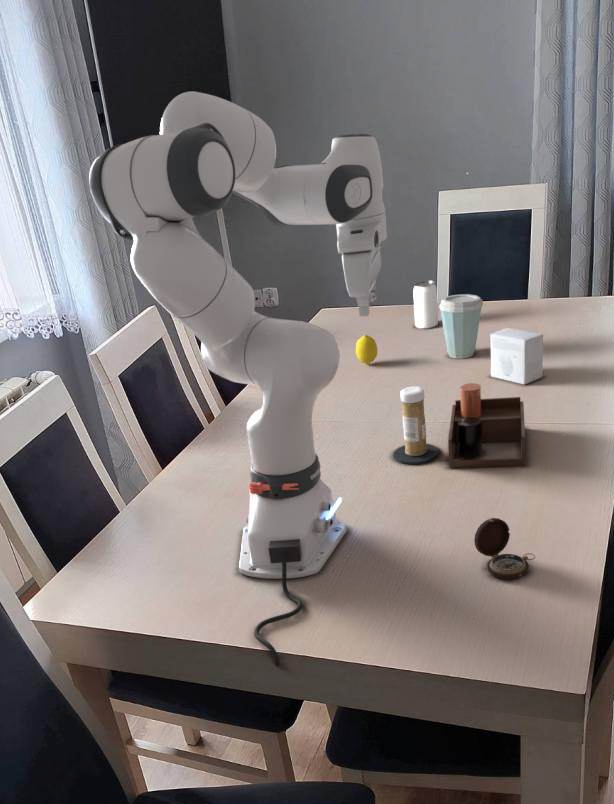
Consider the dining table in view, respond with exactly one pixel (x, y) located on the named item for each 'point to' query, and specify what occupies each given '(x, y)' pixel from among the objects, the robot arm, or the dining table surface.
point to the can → (425, 304)
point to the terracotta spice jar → (470, 400)
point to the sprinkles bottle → (414, 420)
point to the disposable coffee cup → (461, 323)
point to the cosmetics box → (516, 355)
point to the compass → (499, 550)
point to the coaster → (406, 459)
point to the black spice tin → (470, 437)
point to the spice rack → (492, 430)
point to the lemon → (366, 349)
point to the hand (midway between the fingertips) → (368, 307)
